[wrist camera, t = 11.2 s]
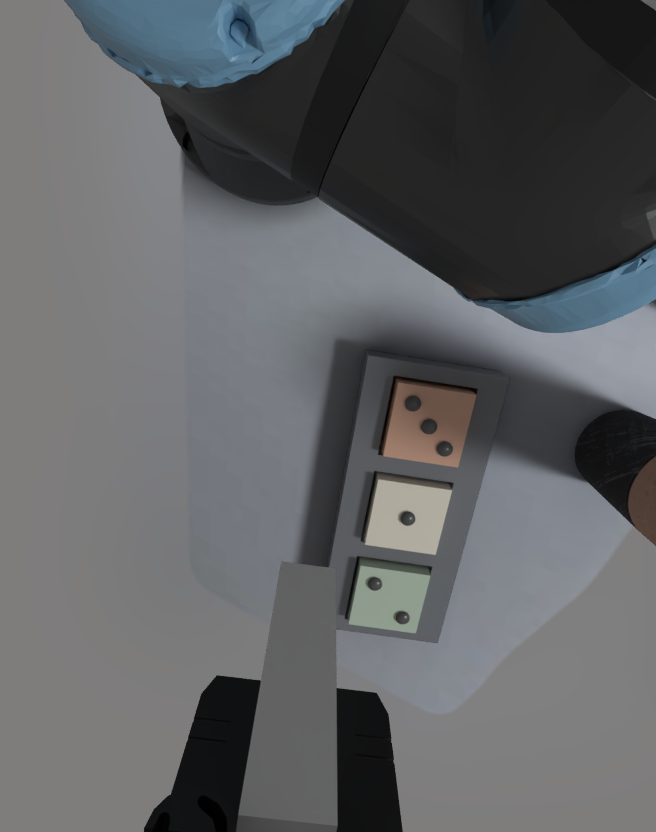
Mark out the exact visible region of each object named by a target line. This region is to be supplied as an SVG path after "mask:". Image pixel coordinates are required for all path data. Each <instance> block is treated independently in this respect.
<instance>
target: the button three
mask: <svg viewBox="0 0 656 832" xmlns="http://www.w3.org/2000/svg"><path fill="white" fill-rule="evenodd" d="M475 399H476V394H475V393H474V392H473V391H472V390H471V389H470V388H469V387H464V386H457V385H451V384H445V383H438V382H432V381H426V380H419V379H413V378H407V377H400V376H394V377H393V382H392V387H391V392H390V397H389V402H388V407H387V412H386V417H385V422H384V426H383V431H382V436H381V441H380V446H381V450H382V454H383V456H385V457H392V458H398V459H405V460H411V461H418V462H424V463H431V464H438V465H444V466H451V467H457V468H458V466H459V462H460V458H461V454H462V450H463V446H464V442H465V438H466V435H467V431H468V427H469V423H470V419H471V415H472V411H473V407H474V403H475Z"/></svg>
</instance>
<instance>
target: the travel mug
mask: <svg viewBox="0 0 656 832" xmlns="http://www.w3.org/2000/svg"><path fill="white" fill-rule="evenodd" d="M575 460H576V464H577V467H578V469H579V471H580V473H581V474H582V476H583V477H584V478H585V479H586V480H587V481H588V482H589V483H590V484H591V485H592V486H593V487H594V488H595V489H596V490H597V491H598V492H599V493H600V494H601V495H602V496H603V497H604V498H605V499H606V500H607V501H608V502H609V503H610V504H611V505H612V506H613V507H614V508H615V509H617V510H618V511H619V512H620V513H621V514H622V515H623V516H624V517H625V518H626V519H627V520H628V521H629V522H630V523H631V524H632V525H633V526H634V527H635V528H636V529H637V530H638V531H640V532H641V533H642V534H643V535H644V536H645V537H646V538H647V539H649V540H650V541H651V542H652V543H653V544H654V545H655V546H656V419H654V418H651V417H649V416H646V415H644V414H641V413H639V412H635V411H629V410H619V411H613V412H609V413H607V414H604V415H602V416H600V417H598V418H597V419H595V420H594V421H593V422H591V423H590V424H589V425H588V426H587V427H586V428H585V430H584V431H583V432H582V434H581V436H580V437H579V439H578V442H577V445H576V450H575Z"/></svg>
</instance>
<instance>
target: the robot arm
mask: <svg viewBox="0 0 656 832" xmlns="http://www.w3.org/2000/svg"><path fill="white" fill-rule="evenodd" d="M64 1H65V2H66V3H67V4H68V6H69V7H70V8H71V9H72V10H73V11H74V13H75V16H76V17H77V18H78V19H79V20H80V21H81V23H82V25H83V28H84V30H85V32H86V33H87V34H88V36H89V37H90V38H91V40H93V41H95V42H96V43H98V44H99V46H100V47H101V49H102V51H103V52H104V53H105V54H106V55H107V56H108V57H110V58H111V59H112V60H114V61H115V62H116V63H117V64H119V65H120V66H122V67H123V68H125V69H126V70H128V71H130V72H132V73H134V74H136V75H137V76H138V77H139V78H140V79H141V80H142V81H143V82H144V83H145V84H146V85H147V86H149V87H150V88H151V89H152V90H153V91H154V92H155V93H156V94H157V95H158V96H159V97H160V99H161V104H162V107H163V110H164V114H165V116H166V119H167V121H168V124H169V126H170V128H171V130H172V132H173V134H174V136H175V138H176V140H177V142H178V143H179V145H180V146H181V148H182V150H183V151H184V152H185V154H186V155H187V156H188V158H189V159H190V160H191V161H192V162H193V164H194V165H195V166H196V167H197V168H198V169H199V170H200V171H201V172H202V173H203V174H205V175H206V176H207V177H208V178H209V179H211V180H212V181H213V182H215V183H216V184H218V185H219V186H221V187H222V188H224V189H225V190H227V191H229V192H230V193H232V194H234V195H236V196H238V197H241V198H243V199H246V200H249V201H252V202H256V203H261V204H267V205H289V204H296V203H301V202H304V201H308V200H310V199H313V198H316V197H318V198H319V199H320V200H321V201H323V202H324V203H326V204H327V205H329V206H330V207H332V208H333V209H335V210H336V211H338V212H339V213H341V214H342V215H344V216H346V217H347V218H349V219H350V220H352V221H353V222H355V223H356V224H358V225H359V226H361V227H362V228H364V229H365V230H367V231H368V232H370V233H371V234H373V235H374V236H376V237H378V238H379V239H381V240H382V241H384V242H385V243H387V244H388V245H390V246H391V247H393V248H394V249H396V250H397V251H399V252H400V253H402V254H403V255H405V256H407V257H408V258H410V259H411V260H413V261H414V262H416V263H417V264H419V265H420V266H422V267H423V268H425V269H426V270H428V271H429V272H431V273H432V274H434V275H436V276H437V277H439V278H440V279H442V280H443V281H445V282H446V283H448V284H449V285H451V286H452V287H454V289H455V290H456V291H457V293H458V294H460V295H461V296H462V297H463V298H464V299H466V300H467V301H472V302H473V303H475V304H476V305H478V306H482V307H486V308H490V309H492V310H494V311H495V312H497V313H499V314H501V315H502V316H504V317H506V318H508V319H509V320H511V321H513V322H514V323H516V324H518V325H520V326H522V327H525V328H527V329H531V330H535V331H539V332H546V333H565V332H573V331H578V330H584V329H588V328H591V327H595V326H598V325H601V324H604V323H607V322H609V321H612V320H614V319H617V318H619V317H622V316H624V315H626V314H628V313H630V312H633V311H635V310H637V309H639V308H641V307H643V306H645V305H646V304H648V303H650V302H652V301H654V300H655V299H656V0H64ZM393 760H394V757H393V750H392V743H391V732H390V724H389V716H388V713H387V711H386V709H385V707H384V706H383V704H382V702H381V700H380V698H379V696H378V695H377V693H373V692H364V691H356V690H348V689H339V688H336V568H329V567H321V566H313V565H305V564H297V563H289V562H282V561H281V567H280V572H279V578H278V584H277V590H276V596H275V602H274V608H273V613H272V619H271V625H270V631H269V637H268V643H267V649H266V655H265V661H264V667H263V673H262V679H261V681H260V680H251V679H243V678H234V677H226V676H216V677H215V678H214V680H213V681H212V682H211V683H210V685H208V687H207V688H206V689H205V690H204V691H203V693H202V694H201V697H200V700H199V704H198V707H197V710H196V714H195V717H194V722H193V723H192V727H191V730H190V733H189V737H188V741H187V743H186V747H185V750H184V753H183V757H182V760H181V763H180V767H179V770H178V773H177V777H176V780H175V783H174V786H173V790H172V793H171V795H169V796H167V797H166V798H165V799H164V800H163V801H162V802H161V803H160V804H159V805H158V806H157V807H156V808H155V809H154V810H153V812H152V814H151V816H150V818H149V820H148V822H147V824H146V826H145V827H144V832H403V831H402V823H401V815H400V807H399V799H398V790H397V782H396V774H395V765H394V763H393Z"/></svg>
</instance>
